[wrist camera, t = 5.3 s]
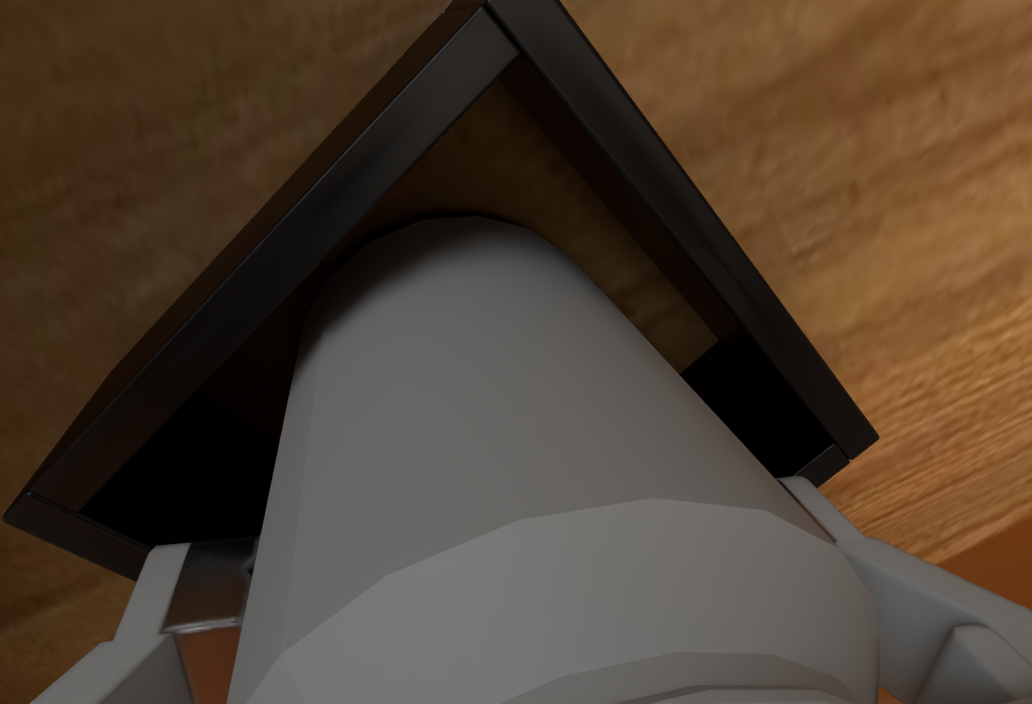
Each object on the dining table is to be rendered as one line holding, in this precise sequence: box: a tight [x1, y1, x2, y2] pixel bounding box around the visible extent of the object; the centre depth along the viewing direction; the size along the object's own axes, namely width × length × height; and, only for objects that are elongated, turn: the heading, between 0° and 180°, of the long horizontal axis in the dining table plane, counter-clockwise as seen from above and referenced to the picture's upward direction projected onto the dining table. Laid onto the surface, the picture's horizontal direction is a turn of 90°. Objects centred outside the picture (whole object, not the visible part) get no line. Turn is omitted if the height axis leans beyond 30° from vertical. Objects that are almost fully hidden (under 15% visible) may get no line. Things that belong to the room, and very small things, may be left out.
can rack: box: [3, 0, 879, 582], centre depth 14 cm, size 12×12×5 cm
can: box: [227, 216, 880, 704], centre depth 11 cm, size 8×8×12 cm
